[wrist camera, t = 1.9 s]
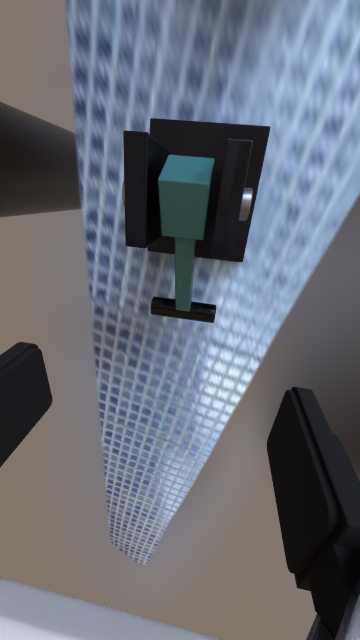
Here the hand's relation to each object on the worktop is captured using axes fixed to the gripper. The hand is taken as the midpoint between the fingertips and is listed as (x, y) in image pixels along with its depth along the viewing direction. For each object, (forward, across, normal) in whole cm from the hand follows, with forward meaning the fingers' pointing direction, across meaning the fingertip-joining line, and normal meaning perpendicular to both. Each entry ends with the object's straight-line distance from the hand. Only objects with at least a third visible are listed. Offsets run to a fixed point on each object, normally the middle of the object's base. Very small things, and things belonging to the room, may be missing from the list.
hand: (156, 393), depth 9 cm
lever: (+9, 0, -4) cm, 10 cm away
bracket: (+17, 0, -7) cm, 19 cm away
